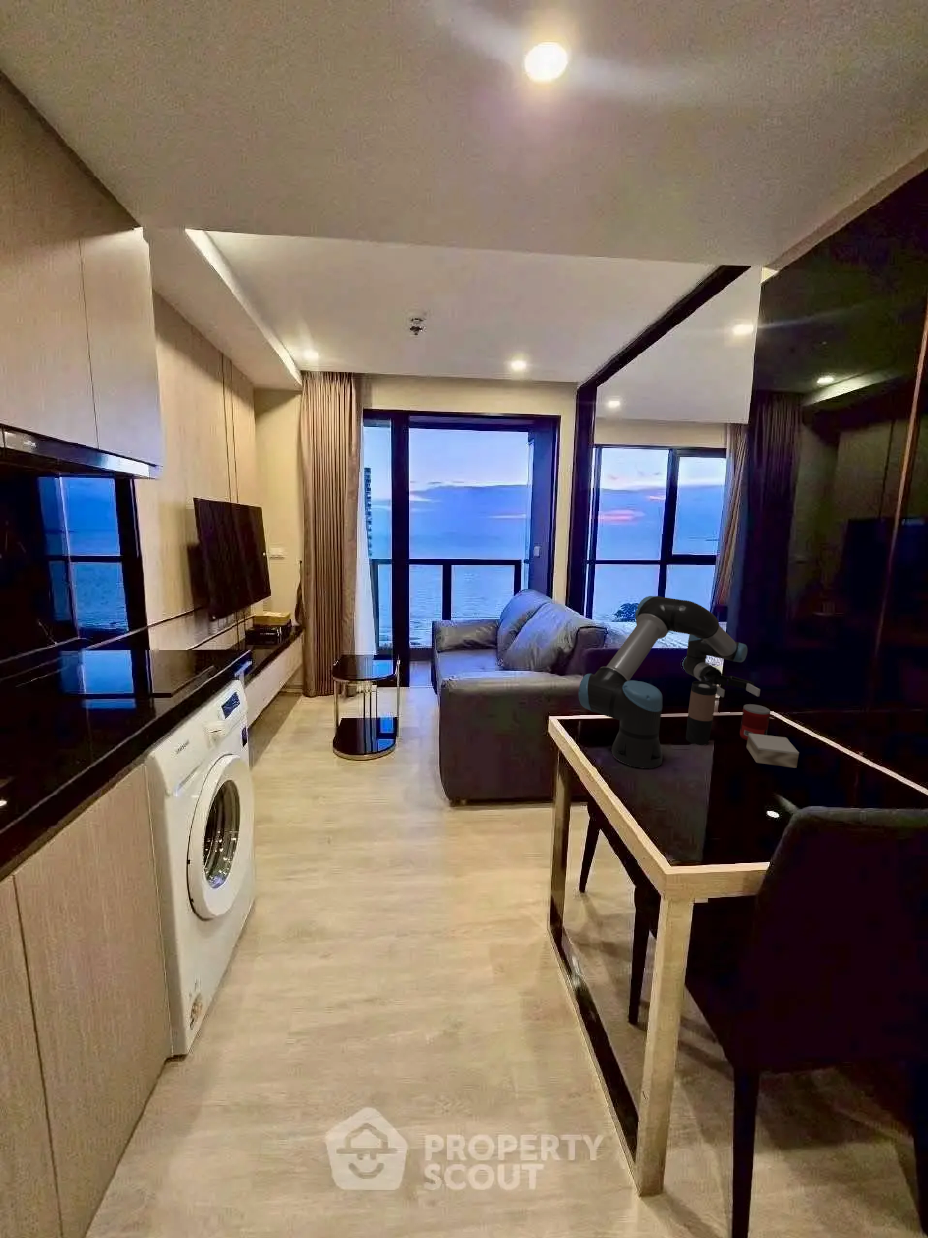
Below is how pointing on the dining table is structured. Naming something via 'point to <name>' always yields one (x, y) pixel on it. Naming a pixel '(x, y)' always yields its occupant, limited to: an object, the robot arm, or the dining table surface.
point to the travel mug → (700, 712)
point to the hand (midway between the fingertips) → (741, 693)
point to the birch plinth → (772, 750)
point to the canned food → (754, 720)
